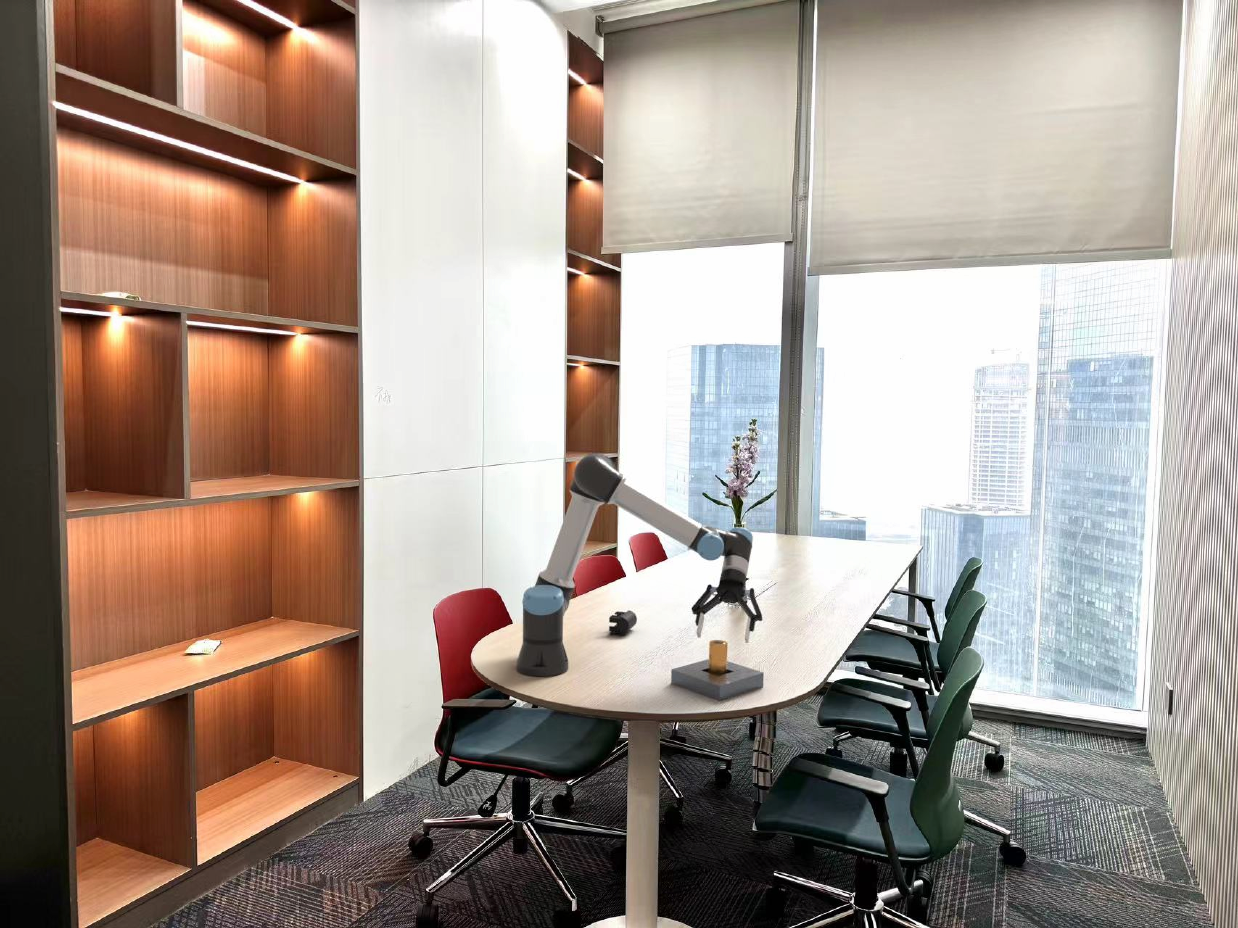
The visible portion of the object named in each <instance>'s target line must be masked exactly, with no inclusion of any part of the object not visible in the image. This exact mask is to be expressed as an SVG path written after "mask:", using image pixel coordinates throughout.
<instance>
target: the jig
mask: <svg viewBox="0 0 1238 928" xmlns="http://www.w3.org/2000/svg"><path fill="white" fill-rule="evenodd" d="M670 672H671V673H670V684H672V685H674V686H677V687H680V688H683V689H686V690H688V691H691V692H695V693H697V694H699V695H701V696H705V697H708V698H710V699H713V700H717V701H719V702H721V701H724V700H727V699H729V698H730V699H731V698H732V697H733V698H734V697H736V696H738V695H742V694H745V693H748V692H752V691H754V690H757V689H760V688H763V687H764V672H763V671H760V670H756V669H754V668H750V667H747V666H744V665H741V664H737V663H734V662H731V661H728V660H727V674H724V675H721V676H716V675H713V674H710V673H709V658H707V659H704V660H703V659H702V660H701V661H696V662H694V663H690V664H686V665H682V666H678V667H675V668H671V671H670Z"/></svg>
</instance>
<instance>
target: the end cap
mask: <svg viewBox="0 0 1238 928" xmlns="http://www.w3.org/2000/svg"><path fill="white" fill-rule="evenodd" d="M608 620H609V621H608V622H609V623H611V624H615V625H609V626H608V630H609V636H617V637H623V636H624V635H626V634H627V633H628V632H629V631H630V630H631V629H632V628H633V627H635V626H636V624H637V620H638V617H637V615H636V613H635V612H634V611H632V610H629V609H628V610H627V611H615V612H614V614H612V615H610V616H609V619H608Z"/></svg>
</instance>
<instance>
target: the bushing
mask: <svg viewBox="0 0 1238 928" xmlns="http://www.w3.org/2000/svg"><path fill="white" fill-rule="evenodd" d="M728 643H729V642H728V641H726V640H722V639H714V640H712V639H711V640H710V641H709V647H708V648H709V649H708V650H709V651H708V659H709V673H710V674H713V675H716V676H721V675H724V674H727V661H728Z"/></svg>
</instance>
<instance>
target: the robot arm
mask: <svg viewBox="0 0 1238 928" xmlns="http://www.w3.org/2000/svg"><path fill="white" fill-rule="evenodd" d="M568 490H569V493H570V494H571V499H570V502H569V503H568V504H569V505H568V508H567V511H566V513H565V516H564V519H563V521H562V524H561V527H560V530H559V532H558V535H557V538H556V541H555V544H554V546H553V549H552V552H551V555H550V557H549V559H548V564H547V565H546V568H545V569H544V570H542V571H540V572H539V573H538V576H537V579H536V581H535V585H534V586H533V587H532V586H531V587H530V586H529V587H528V588H527V589H526V590H525V591H524V593H523V595H522V597H523V598H522V643H521V644H522V645H521V647H520V650H519V653H518V658H517V660H516V666H515V667H516V668H515V669H516V671H517V672H518V673H520V674H522V675H526V676H531V677H551V676H556V675H562V674H563V673H566V672H567V671H568V670H569V659H568V656H567V651H566V649H565V646H564V643H563V640H564V639H563V638H564V637H563V635H564V632H563V631H564V616H565V613H566V612H567V610H568V609H569V607H570V603H571V602H570V601H571V598H572V595H573V593H574V590H575V587H576V584H575V582H574V580H573V578H574V575H575V572H576V570H577V567H578V564H579V562H580V559H581V556H582V553H583V551H584V548H585V545H586V543H587V540H588V537H589V534H590V531H591V528H592V525H593V523H594V521H595V520H594V519H595V518H596V515H597V512H598V510H599V507H600V506H602V505H604V504H606V505H612V504H613V505H615V506H617V507H619V508H620V509H622V510H623V511H626V512H627V513H629V514H631V516H632V515H633V516H634V517H635V518H637V519H639V520H641V521H643V522H644V523H646V524H647V525H650V526H651V527H653V528H655V529H656V530H657V531H660V532H661V533H663V534H665V535H666V536H668V537H670V538H672V539H673V540H675V541H676V542H679V543H680V544H682V545H684V546H685V547H687V548H688V549H690V550H692V551H693V552H695V553H697V554H698V555H699V556H700V557H701V558H702V559H704V560H706V561H715V560H718V559H719V558H721V557H723V562H722V567H721V573H720V578H719V582H718V586H713V585H712V584H707V586H706V589H705V591H704V592H703V593H702V595H701V596H699V598H698V599H697V601H696V602H695V603H694V604H693V605H692V607H691V612H692V615H696V616H695V626H696V636H697V638H698V639H701V638H702V633H703V628H704V621H705V615H706V614H707V613H708V612H710V611H711V610H712V609H713V608H715V607H716V606H718V605H720V604H721V603H724V604H732V605H733V604H734V605H735V604H736V603H737V604H738V605H739V607H740V608H741V609H742V610H743V612H744V613H745V614H746V616H747V622H746V627H745V634H744V641H745V644H746V643H747V644H748V643H749V639H750V635H751V632H754V631H755V627H756V622H761V621H763V614H762V612H761V609H760V606H759V604H758V601H757V599H756V594H755V589H754V588H753V587H751V588H749V589H745V588H746V584H747V583H746V582H747V576H748V571H749V565H750V561H751V560H750V558H751V554H752V549H753V539H754V536H753V534H752V532H751V531H750V530H749V529H747V528H745V527H738V526H737V527H732V528H731V529H729V531H727V530H726V531H725V530H722V529H719V528H716V527H713V526H709V525H706V524H704V523H699V522H697V521H695V520H693V519H692V518H690V517H688V516H687V515H686V514H683V513H681V512H680V511H678V510H676V509H675V508H673V507H672V506H670V505H668V504H666V503H664V502H663V501H662V500H659V499H658V498H656V497H654V496H653V495H651V494H650V493H648V492H646V491H644V490H642V489H641V488H639V487H637V486H636V485H634V484H633V483H631V482H629V481H627V478H626V476H625V475H624V474H623V473H621V472H620V471H618V470H617V469H616V466H615V463H614V461H612V459H611V458H610V457H609V456H607V455H605V454H603V453H599V452H593V453H589V454H586V455H585V456H584V457H582V458H581V459H580V460H579V461H578V463H577V464H576V465H575V467H574V471H573V479H572V482H571V485H570V487H569V489H568ZM714 593H716V594H715V595H714ZM713 595H714V596H713ZM711 596H713V597H711ZM744 596H747V598H749V599H750V603H751V604H752V606H753V610H754V612H755V613H754V612H753V610H752V609H751V608H750V607H749V605H748V604H747V603H746V601H745V600H744V598H743V597H744ZM710 598H711V599H710ZM709 599H710V600H709Z"/></svg>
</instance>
